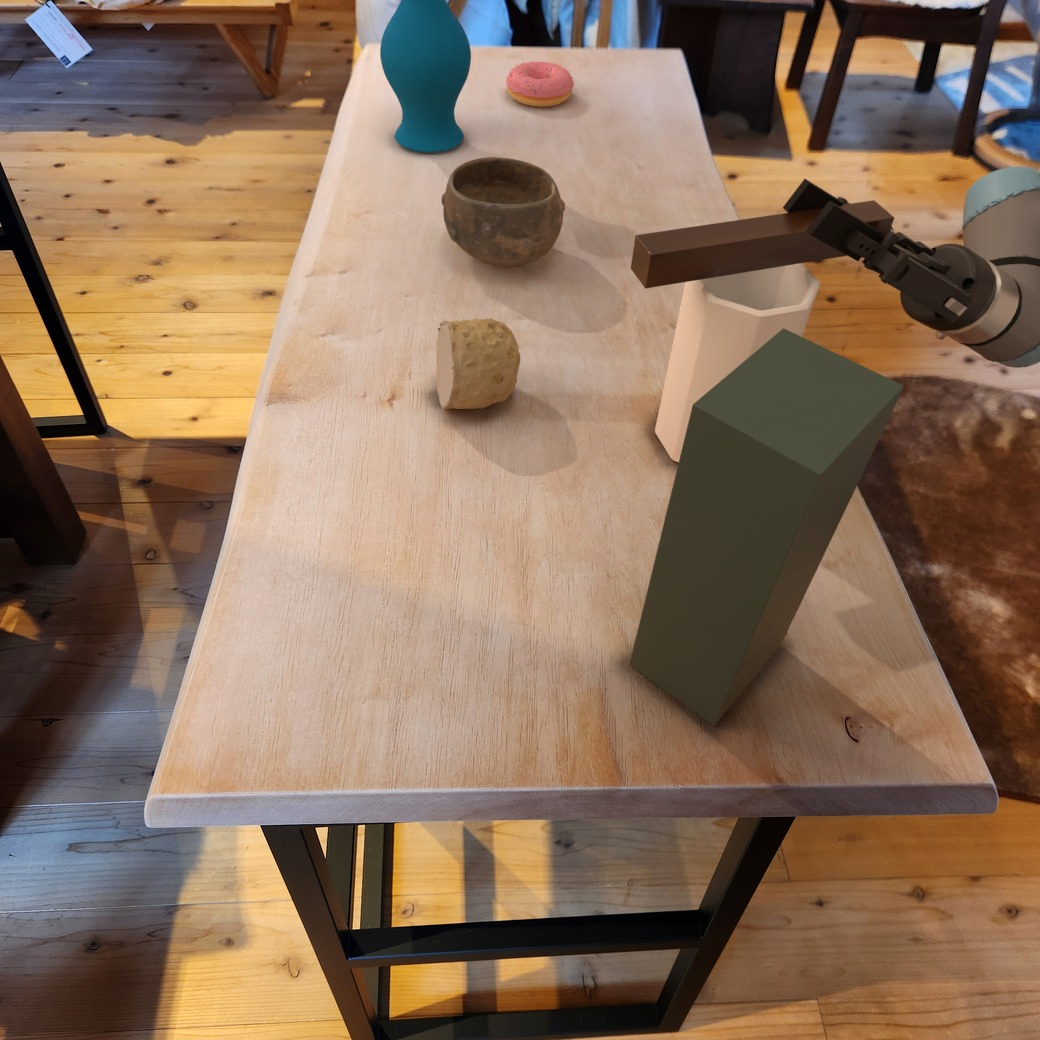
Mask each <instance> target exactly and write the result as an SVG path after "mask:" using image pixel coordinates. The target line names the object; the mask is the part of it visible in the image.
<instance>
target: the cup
mask: <svg viewBox="0 0 1040 1040" xmlns="http://www.w3.org/2000/svg"><path fill="white" fill-rule="evenodd" d="M820 287H821V282H820V280H819V279H818V278H817V277H816V276H815V275H814V274H813V273H812V272H811V271H810V270H809V269H808V268H807V267H806V266H805V265H804V263H800V264H793V265H787V266H781V267H775V268H769V269H763V270H757V271H750V272H744V273H738V274H732V275H726V276H720V277H714V278H707V279H701V280H695V281H689V282H684V288H683V292H682V293H683V294H682V297H681V303H680V308H679V311H678V318H677V321H676V326H675V331H674V337H673V339H672V340H673V341H672V344H671V345H672V346H671V349H670V350H671V351H670V355H669V361H668V365H667V370H666V374H665V379H664V385H663V390H662V394H661V399H660V403H659V404H660V405H659V407H658V408H659V409H658V413H657V418H656V423H655V427H654V433H655V435H656V436H657V438H658V439H659V442H660V443H661V444H662V446H663V448H664V449H665V451H666V452H667V454H668V456H669V457H670V459H671V460H672V461H673V462H676V463H679V459H680V455H681V451H682V447H683V443H684V439H685V435H686V430H687V426H688V422H689V418H690V414H691V410H692V406H693V404H694V403H695V402H696V401H698V400H699V399H700V398H701V397H702V396H703V395H705V394H706V393H707V392H708V391H709V390H711V389H712V388H713V387H714V386H715V385H717V384H718V383H719V382H720V381H721V380H722V379H724V378H725V377H726V376H727V375H728V374H730V373H731V372H732V371H733V370H734V369H736V368H737V367H738V366H739V365H740V364H741V363H743V362H744V361H745V360H746V359H747V358H749V357H750V356H751V355H752V354H753V353H755V352H756V351H757V350H758V349H759V348H760V347H762V346H763V345H764V344H765V343H766V342H768V341H769V340H770V339H771V338H772V337H773V336H775V335H776V334H777V333H778V332H779V331H781V330H782V329H783V328H784V329H786V330H788V331H790V332H792V333H795V334H797V335H799V336H801V337H803V338H804V334H805V331H806V329H807V325H808V322H809V320H810V316H811V313H812V311H813V308H814V304H815V302H816V299H817V295H818V293H819V290H820Z"/></svg>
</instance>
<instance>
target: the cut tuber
mask: <svg viewBox="0 0 1040 1040" xmlns="http://www.w3.org/2000/svg"><path fill="white" fill-rule="evenodd" d="M437 331H438V336H437V342H436V377H437V379H436V380H437V381H436V383H437V384H436V397H437V398H438V402H439V404H440V406H441V408H442V410H449V409H456V410H457V409H459V410H460V409H461V410H463V409H465V410H466V409H467V410H470V409H472V410H475V409H481V410H482V409H485V408H488V407H490V406H491V405H495V404H496V403H498V404H499V403H502V402H504V401H506V400H507V399H508V397H509V396H510V394H511V393H512V392H513V391H514V389H515V386H516V384H517V382H518V373H519V370H520V364H521V352H520V346H519V345H518V342H517V339H516V336H515V335H514V333H513V331H512V330H511V328H509V326H507V324H506V323H505V322H502V321H499V320H495V319H494V318H492V317H488V318H477V317H475V318H473V319H469V320H468V319H462V320H452V321H447V320H442V321H441V322H439V327H438V328H437Z"/></svg>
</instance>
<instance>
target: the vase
mask: <svg viewBox="0 0 1040 1040" xmlns="http://www.w3.org/2000/svg"><path fill="white" fill-rule="evenodd" d="M379 52H380V53H379V56H380V62H381V63H380V64H381V67H382V70H383V74H384V76H385V78H386V80H387V82H388V84H389V86H390V87H391V89H392V91H393V93H394V94H395V97H396V98H397V100H398V103H399V105H400V108H401V123H400V124H399V126H398V127H397V129H396V131H395V132H394V139H395V141H396V142H397V143H398V144H399V145H400V146H402V147H403V148H404V149H407V150H410V151H412V152H417V153H427V154H429V153H433V154H434V153H442V152H446V151H450V150H453V149H455V148H456V147H458V146H459V145H461V143H462V142H463V140H464V139H465V134H464V132H463V130H462V129H461V127H460V125H458V124H457V121H456V117H455V109H456V104H457V102H458V98H459V96H460V94H461V93H462V90H463V88H464V86H465V84H466V82H467V80H468V77H469V73H470V69H471V61H472V50H471V45H470V41H469V38H468V35H467V33H466V30H465V29H464V27H463V25H462V24H461V22H460V21H459V19H458V18H457V16H456V15H455V14H454V12H453V10H452V9H451V8H450V5H449V4H448V2H447V1H446V0H400V2H399V4H398V6H397V8H396V10H395V12H394V13H393V15H392V16H391V18H390V20H389V21H388V23H387V25H386V27H385V29H384V31H383V33H382V37H381V41H380V48H379Z"/></svg>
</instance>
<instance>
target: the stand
mask: <svg viewBox="0 0 1040 1040" xmlns="http://www.w3.org/2000/svg"><path fill="white" fill-rule="evenodd" d="M904 388H905V385H904V384H902V383H900V382H897V381H896V380H894V379H891V378H889V377H887V376H885V375H883V374H880V373H878V372H876V371H874V370H872V369H870V368H867V367H865V366H863V365H862V364H860V363H858V362H855V361H853V360H851V359H849V358H847V357H844V356H842V355H841V354H839V353H836V352H834V351H832V350H830V349H828V348H826V347H825V346H822V345H819V344H818V343H816V342H814V341H811V340H810V339H807V338H805V337H804V336H803V337H801V336H799V335H797V334H795V333H792V332H790V331H788V330H786V329H784V328H783V329H782V330H781V331H779V332H778V333H777V334H776V335H775V336H773V337H772V338H771V339H770V340H769V341H768V342H766V343H765V344H764V345H763V346H762V347H760V348H759V349H758V350H757V351H756V352H755V353H753V354H752V355H751V356H750V357H749V358H747V359H746V360H745V361H744V362H743V363H741V364H740V365H739V366H738V367H737V368H736V369H734V370H733V371H732V372H731V373H730V374H728V375H727V376H726V377H725V378H724V379H722V380H721V381H720V382H719V383H718V384H717V385H715V386H714V387H713V388H712V389H711V390H709V391H708V392H707V393H706V394H705V395H703V396H702V397H701V398H700V399H699V400H698V401H696V402H695V403H694V404H693V406H692V410H691V414H690V418H689V422H688V426H687V430H686V435H685V439H684V443H683V447H682V451H681V455H680V459H679V462H677V463H678V464H677V467H676V472H675V475H674V480H673V483H672V488H671V491H670V492H671V493H670V497H669V500H668V505H667V507H666V513H665V517H664V521H663V526H662V529H661V534H660V538H659V541H658V546H657V549H656V554H655V557H654V558H655V559H654V562H653V566H652V571H651V575H650V577H649V582H648V587H647V590H646V595H645V599H644V603H643V607H642V610H641V614H640V619H639V623H638V628H637V631H636V636H635V639H634V643H633V648H632V652H631V655H630V659H629V660H630V661H629V664H628V665H629V666H630V667H632V668H633V669H634V670H636V671H637V672H638V673H640V674H641V675H642V676H644V677H645V678H647V679H648V680H649V681H651V682H652V683H654V685H657V686H658V687H659V688H660V689H662V690H663V691H664V692H666V693H667V694H669V695H670V696H671V697H672V698H674V699H675V700H677V701H678V702H679V703H681V704H682V705H683V706H685V707H686V708H687V709H689V710H690V711H692V712H693V713H694V714H696V715H697V716H698V717H700V718H701V719H702V720H704V721H705V722H707V723H708V724H710V725H711V726H712V727H715V726H716V725H717V724H718V723H719V722H720V720H721V719H722V717H724V715H725V714H726V713H727V712H728V710H729V709H730V708H731V707H732V706H733V704H734V703H735V702H736V701H737V700H738V698H739V697H740V696H741V695H742V694H743V692H744V691H745V690H746V688H747V687H748V686H749V685H750V684H751V682H752V681H753V680H754V679H755V677H756V676H757V675H758V674H759V673H760V671H761V670H762V669H763V668H764V667H765V666H766V664H767V663H768V662H769V661H770V659H771V658H772V656H773V655H774V654H775V653H776V652H777V651H778V649H780V647H781V646H782V644H783V642H784V640H785V637H786V635H787V633H788V631H789V629H790V627H791V625H792V624H793V621H794V619H795V617H796V615H797V612H798V610H799V608H800V607H801V604H802V602H803V600H804V598H805V596H806V594H807V592H808V589H809V588H810V585H811V583H812V581H813V579H814V577H815V575H816V572H817V570H818V569H819V566H820V564H821V562H822V560H823V558H824V557H825V554H826V552H827V550H828V548H829V546H830V543H831V542H832V539H833V538H834V535H835V532H837V528H838V526H839V524H840V523H841V520H842V518H843V516H844V514H845V512H846V511H847V508H848V505H849V504H850V502H851V500H852V497H853V495H854V493H855V491H856V489H857V487H858V485H859V482H860V480H861V479H862V477H863V474H864V472H865V470H866V468H867V466H868V464H869V462H870V459H871V457H872V456H873V453H874V452H875V450H876V447H877V445H878V443H879V441H880V440H881V439H880V438H881V437H882V435H883V433H884V430H885V428H886V426H887V424H888V422H889V421H890V420H889V419H890V418H891V416H892V413H893V411H894V410H895V407H896V405H897V403H898V401H899V399H900V396H901V394H902V392H903V391H904Z"/></svg>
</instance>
